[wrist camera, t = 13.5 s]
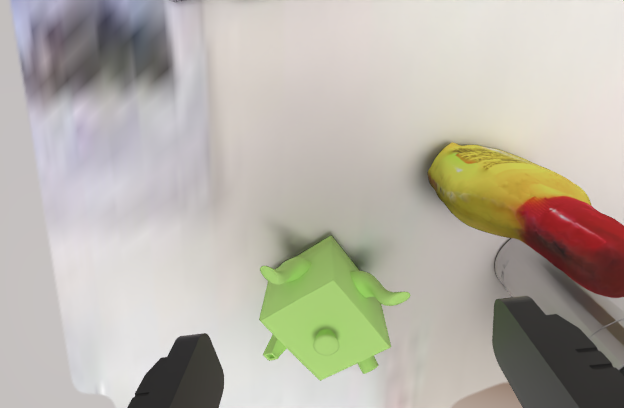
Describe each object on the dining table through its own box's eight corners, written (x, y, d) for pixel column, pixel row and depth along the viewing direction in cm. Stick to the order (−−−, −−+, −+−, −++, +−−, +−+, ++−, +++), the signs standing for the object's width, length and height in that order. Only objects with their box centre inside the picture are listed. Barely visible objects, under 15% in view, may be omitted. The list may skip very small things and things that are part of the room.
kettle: (274, 217, 40) (258, 274, 29) (392, 231, 40) (417, 293, 30) (265, 314, 46) (249, 390, 36) (368, 326, 46) (381, 404, 36)
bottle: (541, 149, 35) (774, 253, 17) (516, 203, 38) (695, 343, 20) (431, 130, 35) (550, 217, 17) (413, 186, 38) (500, 314, 19)
